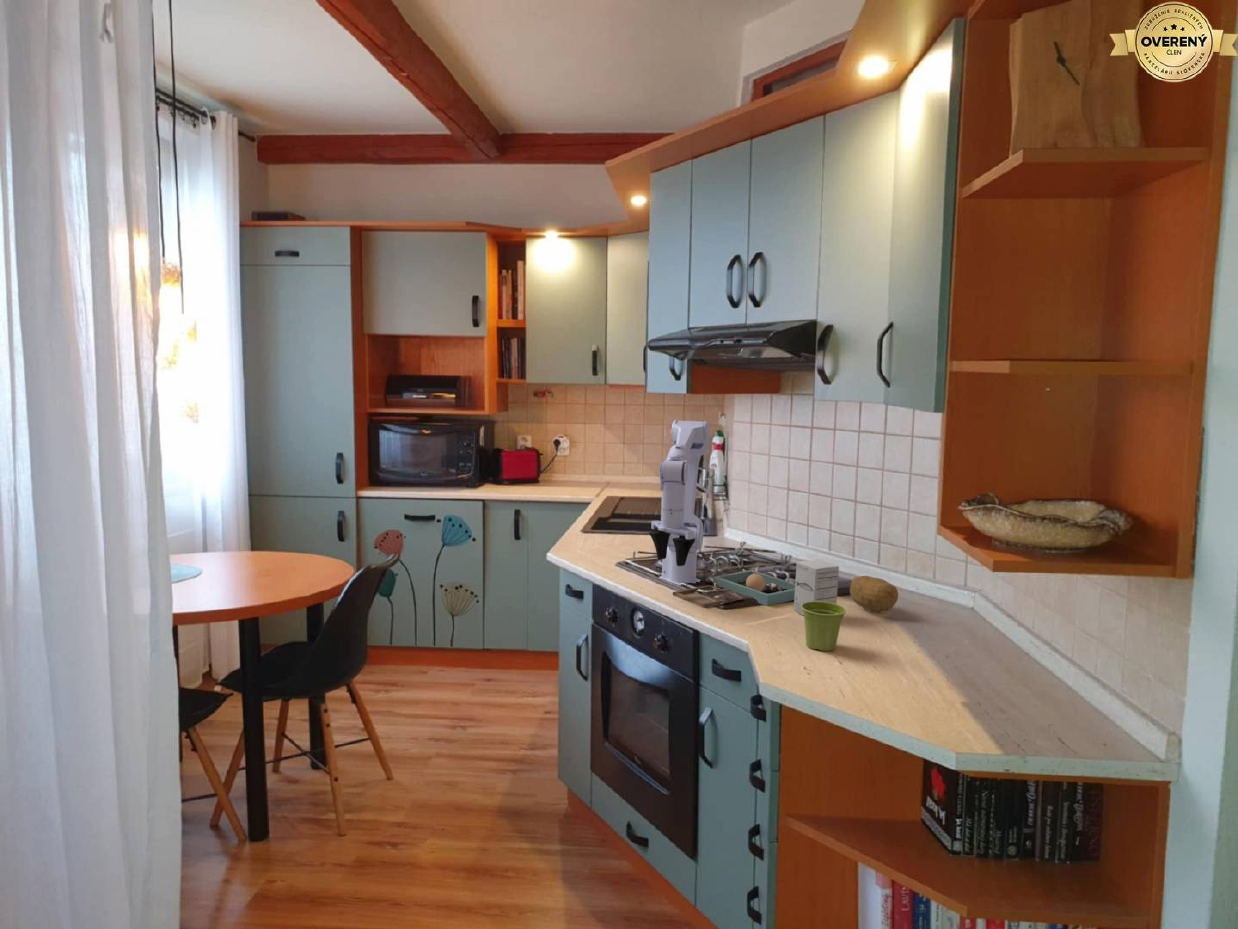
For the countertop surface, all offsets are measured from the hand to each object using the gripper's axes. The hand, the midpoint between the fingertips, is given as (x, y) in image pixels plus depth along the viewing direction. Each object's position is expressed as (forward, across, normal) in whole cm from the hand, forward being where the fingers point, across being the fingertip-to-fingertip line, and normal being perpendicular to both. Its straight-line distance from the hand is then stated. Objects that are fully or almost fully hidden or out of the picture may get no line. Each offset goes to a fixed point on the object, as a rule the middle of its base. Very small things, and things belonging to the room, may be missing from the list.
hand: (671, 562), depth 206 cm
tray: (+10, +7, +24) cm, 27 cm away
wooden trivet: (+10, +4, +9) cm, 14 cm away
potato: (+10, +32, +38) cm, 51 cm away
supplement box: (+10, +27, +23) cm, 37 cm away
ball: (+10, +7, +23) cm, 26 cm away
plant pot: (+10, +43, +7) cm, 45 cm away
